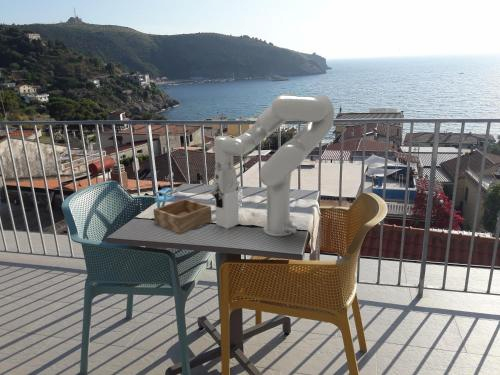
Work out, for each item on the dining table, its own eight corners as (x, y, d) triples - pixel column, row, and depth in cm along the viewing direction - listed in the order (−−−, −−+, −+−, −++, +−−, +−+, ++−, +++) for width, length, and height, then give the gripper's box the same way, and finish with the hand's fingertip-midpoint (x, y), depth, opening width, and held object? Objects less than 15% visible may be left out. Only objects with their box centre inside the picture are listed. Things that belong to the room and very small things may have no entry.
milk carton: (238, 224, 169) (237, 183, 163) (227, 229, 164) (225, 186, 158) (227, 220, 174) (225, 180, 168) (216, 225, 169) (213, 183, 163)
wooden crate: (211, 220, 174) (210, 206, 172) (181, 233, 161) (179, 218, 159) (185, 212, 185) (184, 198, 183) (155, 223, 172) (153, 209, 170)
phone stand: (164, 207, 192) (161, 185, 188) (177, 209, 188) (175, 186, 185) (154, 213, 185) (151, 189, 182) (168, 215, 182) (165, 191, 178)
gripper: (216, 171, 152) (218, 212, 157) (244, 162, 165) (246, 200, 170) (203, 168, 157) (205, 208, 162) (232, 160, 169) (233, 197, 175)
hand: (226, 204), depth 166 cm, fingers open, 8 cm apart
